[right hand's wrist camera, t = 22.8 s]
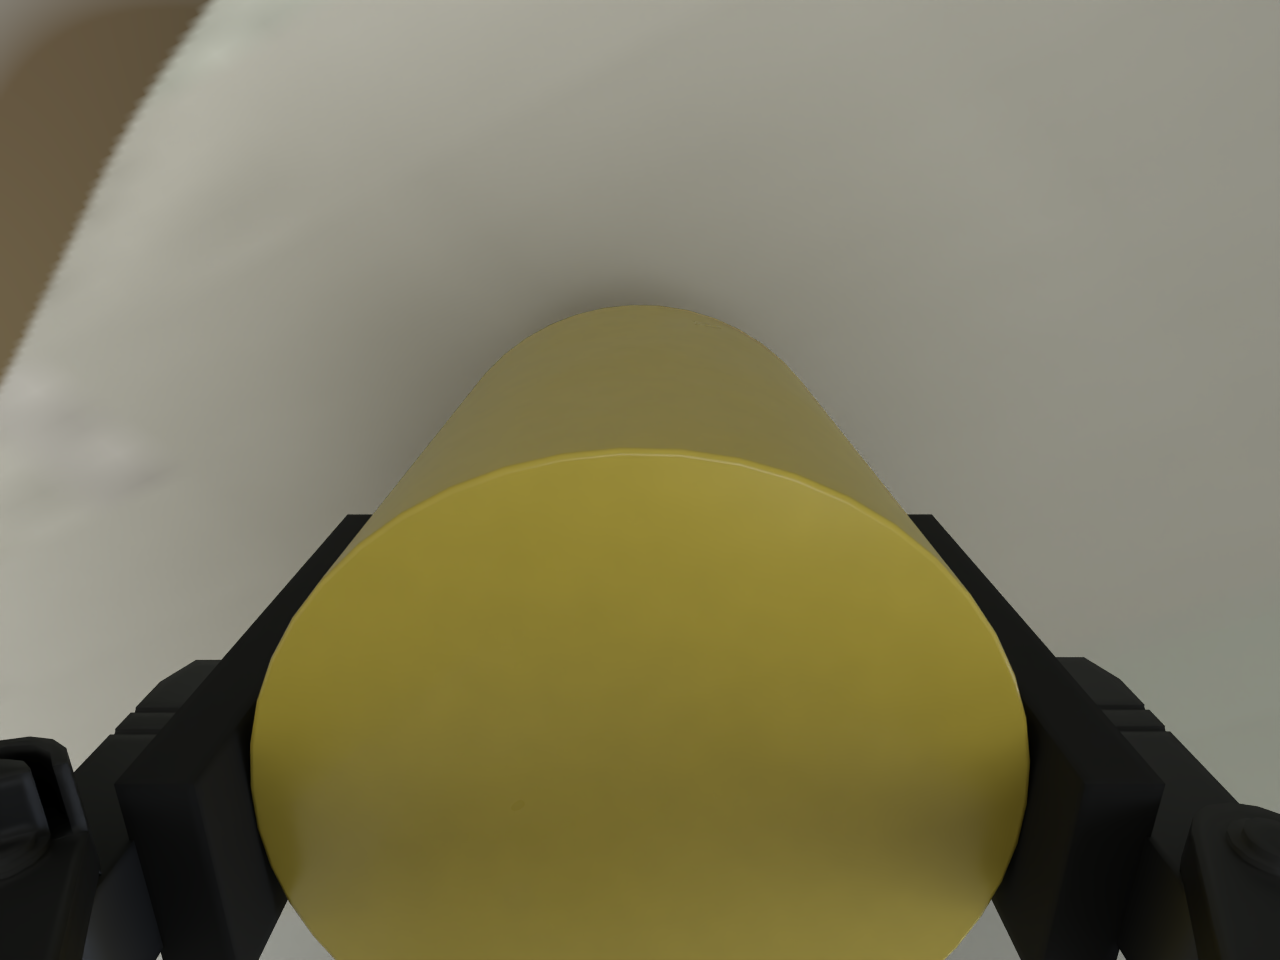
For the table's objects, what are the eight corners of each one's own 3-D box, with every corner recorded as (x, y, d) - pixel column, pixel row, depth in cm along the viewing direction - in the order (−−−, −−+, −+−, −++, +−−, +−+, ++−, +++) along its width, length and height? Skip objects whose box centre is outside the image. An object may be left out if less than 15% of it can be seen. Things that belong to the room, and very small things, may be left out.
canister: (829, 667, 19) (987, 1071, 10) (465, 679, 19) (323, 1089, 10) (847, 295, 16) (1088, 430, 7) (416, 313, 16) (160, 466, 7)
